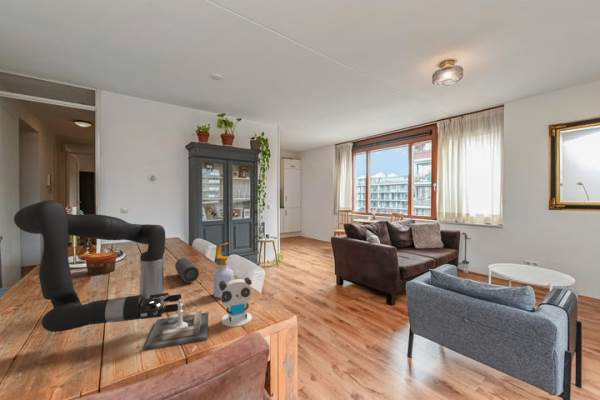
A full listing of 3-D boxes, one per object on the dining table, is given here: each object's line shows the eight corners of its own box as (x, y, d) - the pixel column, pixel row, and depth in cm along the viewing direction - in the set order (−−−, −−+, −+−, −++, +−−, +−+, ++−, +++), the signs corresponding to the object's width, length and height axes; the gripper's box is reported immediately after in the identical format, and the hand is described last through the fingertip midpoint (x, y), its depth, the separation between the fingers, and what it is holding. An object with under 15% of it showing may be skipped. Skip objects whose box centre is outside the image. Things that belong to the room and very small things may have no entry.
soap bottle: (228, 299, 116) (228, 245, 116) (210, 297, 118) (209, 244, 117) (237, 291, 125) (236, 241, 124) (219, 290, 127) (219, 240, 126)
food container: (104, 276, 148) (104, 258, 148) (77, 276, 148) (76, 257, 148) (123, 268, 164) (123, 251, 164) (99, 268, 164) (98, 251, 164)
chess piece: (175, 324, 92) (175, 296, 92) (189, 323, 92) (189, 295, 92) (170, 331, 87) (169, 302, 87) (185, 330, 88) (184, 301, 87)
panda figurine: (221, 329, 90) (221, 287, 90) (218, 315, 101) (217, 277, 100) (255, 322, 95) (255, 282, 95) (248, 310, 105) (248, 273, 105)
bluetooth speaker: (200, 282, 138) (200, 264, 137) (181, 286, 132) (181, 267, 132) (191, 272, 156) (191, 255, 156) (174, 274, 151) (174, 257, 151)
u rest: (144, 350, 78) (144, 340, 78) (157, 322, 96) (156, 314, 95) (207, 339, 84) (207, 330, 84) (208, 314, 101) (208, 307, 101)
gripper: (117, 306, 78) (176, 299, 83) (131, 289, 91) (181, 284, 96) (118, 330, 78) (177, 322, 83) (132, 310, 91) (182, 304, 96)
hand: (179, 302), depth 90 cm, fingers open, 8 cm apart
